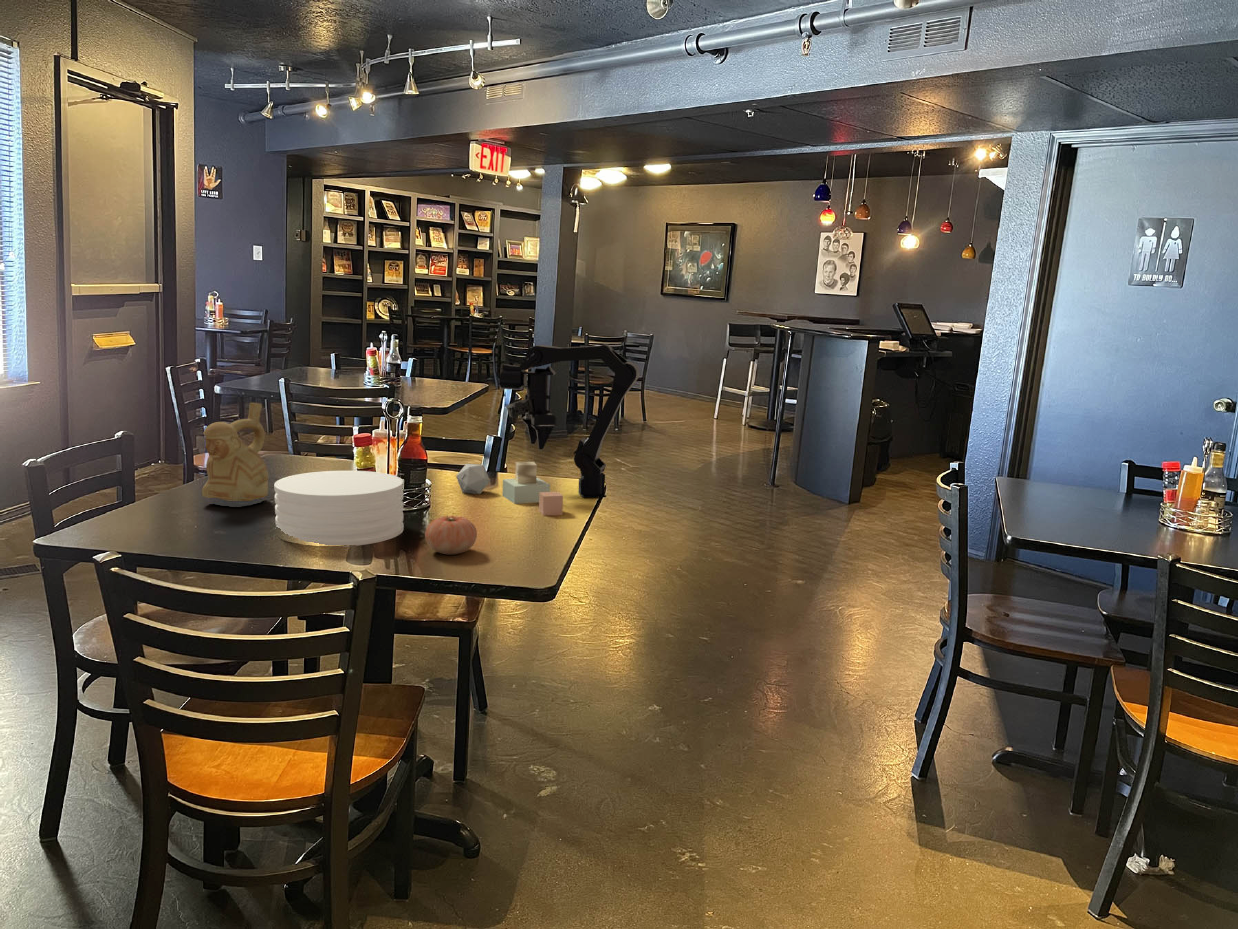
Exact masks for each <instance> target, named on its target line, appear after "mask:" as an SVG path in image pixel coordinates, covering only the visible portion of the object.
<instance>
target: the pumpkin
mask: <svg viewBox="0 0 1238 929" xmlns="http://www.w3.org/2000/svg"><path fill="white" fill-rule="evenodd" d="M477 535H478V532H477V528H476V526H475V525H474V523H473V522H472V521H470V520H469V519H468V518H465V517H462V516H457V515H456V516H454V515H451V516H448V515H446V516H441V517H438V518H435V519H433V520H432V521H431V522H430V523H429V524H428V525H427V527H426V529H425V532H424V537H425V541H426V543H427V544H428V546H429V547H430V548H431V549H432V550H433V551H435V552H436V553H440V554H443V555H449V556H450V555H453V556H454V555H459V554H462V553H464V552H466V551H468V550H470V549H471V548H472V547H473V546H474V545H475V542H476V541H477V537H478V536H477Z"/></svg>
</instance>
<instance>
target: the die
mask: <svg viewBox="0 0 1238 929" xmlns="http://www.w3.org/2000/svg"><path fill="white" fill-rule="evenodd" d="M455 477H456V479H457V483H458V485H459V487H460V489H461V492H462V494H463V493H464V494H475V495H481V493H482V492H483V491H484V490H485V488H486V487H487V486H488V485H489V483H490V482H491V481H490V479H489V476H488V473H487V471H486V467H485V465H484V464H475V463H474V464H473V463H465V465H464V466H463V467H462V468H461V469H460V471H459V472H458V473H457V474H456V476H455Z"/></svg>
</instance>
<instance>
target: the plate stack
mask: <svg viewBox="0 0 1238 929" xmlns="http://www.w3.org/2000/svg"><path fill="white" fill-rule="evenodd" d="M273 486H274V492H275V494H274V504H275V505H274V513H275V515H276V516H275V519H274V520H275V521H274V522H275V526H276V527H278V528H280V529H281V531H283V532H284V533H285V534H288V535H289V536H293V537H295V538H299V539H298V540H303V541H306V542H314V543H319V544H325V545H356V546H363V545H364V546H365V545H370V544H376V543H381V542H385V541H387V540H391V539H393V538H396V537H397V536H400V535H401V534H402V533H403V531H404V530H405V529H404V528H405V527H404V522H403V521H404V512H403V510H404V501H403V500H404V491H403V488H404V480H403V479H402V478H401V477H399V476H397V475H394V474H390V473H385V472H380V471H379V472H377V471H370V470H369V471H367V470H325V471H324V470H323V471H314V472H313V471H312V472H305V473H298V474H292V475H289V476H286V477H285V476H284V477H283V478H280V479H278V480H276V481H275V482H274V485H273Z"/></svg>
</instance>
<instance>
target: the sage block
mask: <svg viewBox="0 0 1238 929" xmlns="http://www.w3.org/2000/svg"><path fill="white" fill-rule="evenodd" d="M539 492H551V484H550V483H548V482H547V481H544V480H543V479H541V478H539V477H537V481H536V483H524V484H518V483H517V481H516V480H515V478H504V479H502V497H503V498H505V499H506V500H508V501H509V502H511V503H513V504H514V505H516V504H518V505H519V504H532V503H539Z"/></svg>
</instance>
